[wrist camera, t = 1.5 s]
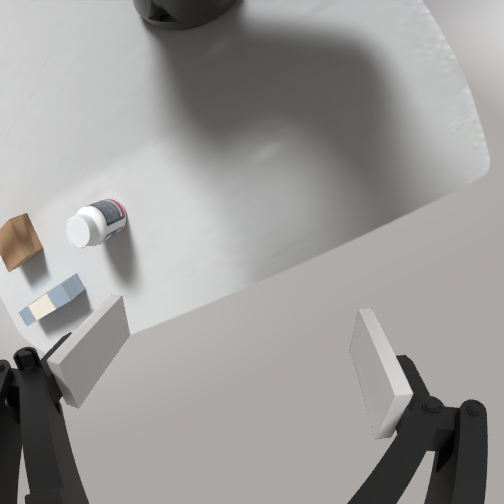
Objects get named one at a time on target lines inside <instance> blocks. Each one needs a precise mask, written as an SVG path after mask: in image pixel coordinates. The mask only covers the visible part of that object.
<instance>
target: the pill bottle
mask: <svg viewBox="0 0 504 504" xmlns="http://www.w3.org/2000/svg"><path fill="white" fill-rule="evenodd" d="M125 223H126V212H125V209H124V207H123V206H122V204H121V203H120V202H118V201H117V200H115V199H105V200H102V201H99V202H96V203H93V204H90V205H88V206H85V207H83V208H81V209H80V210H79V211H78V212H77V214H76V215H75V216H74V217H72V218H70V219H69V220H68V222H67V224H66V235H67V238H68V240H69V242H70V243H71V244H72V245H73V246H75V247H77V248H83V247H86V246H96V245H98V244H101V243H102V242H104V241H106V240H107V239H109V238H111V237H112V236H114V235H116V234H117V233H119V232H120V231H121V230H122V229H123V228H124V226H125Z"/></svg>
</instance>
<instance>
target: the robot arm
mask: <svg viewBox="0 0 504 504" xmlns="http://www.w3.org/2000/svg"><path fill="white" fill-rule="evenodd" d="M234 2H235V0H133V3H134V6H135V8H136V10H137V12H138V13H139V14H140V15H141V16H142V17H143V18H144V19H145V20H146V21H147V22H149V23H150V24H152V25H154V26H156V27H159V28H162V29H168V30H182V29H188V28H193V27H197V26H200V25H202V24H205V23H207V22H209V21H211V20H213V19H215V18H217V17H218V16H220V15H221V14H223V13H224V12H225V11H226V10H227V9H228V8H229V7H230V6H231V5H232V4H233V3H234ZM129 336H130V332H129V327H128V322H127V318H126V313H125V307H124V302H123V297H122V295H114V294H111V295H110V296H109V297H108V298H107V299H106V300H105V301H104V302H103V303H102V304H101V305H100V306H99V307H98V308H97V309H96V310H95V311H94V312H93V313H92V314H91V315H90V316H89V317H88V318H87V319H86V320H85V321H84V322H83V323H82V324H81V325H80V326H79V327H78V328H77V329H76V330H75V331H74V332H73V333H71V332H70V333H68V334H67V335H65V336H63V337H62V338H61V339H60V340H59V341H58V342H57V343H56V344H55V345H54V346H53V348H51V349H50V350H49V351H48V352H47V354H46V355H45V356H44V357H43V358H42V359H41V360H40V359H39V356H38V354H37V351H36V349H34V348H32V347H24V348H22V349H20V350H18V351H17V352H16V353H15V354H14V357H13V358H14V360H15V363H16V365H17V367H18V369H14V368H11V366H10V364H9V362H8V361H7V360H0V504H17V493H18V479H19V468H20V459H21V451H22V444H23V453H24V460H25V466H26V473H27V479H28V484H29V489H30V494H28V495H26V496H25V504H89V502H88V499H87V496H86V494H85V491H84V488H83V485H82V482H81V480H80V476H79V473H78V470H77V467H76V464H75V460H74V457H73V454H72V449H71V446H70V442H69V438H68V434H67V430H66V425H65V420H64V416H63V411H62V406H61V403H60V401H59V400H60V399H61V397H62V396H63V398H64V400H65V401H66V403H67V405H70V406H73V407H76V408H80V406H81V405H82V403H83V402H84V400H85V399H86V397H87V396H88V394H89V393H90V391H91V390H92V388H93V387H94V385H95V384H96V382H97V381H98V380H99V378H100V377H101V375H102V374H103V372H104V371H105V369H106V368H107V367H108V365H109V364H110V363H111V361H112V360H113V358H114V357H115V355H116V354H117V353H118V351H119V350H120V348H121V347H122V345H123V344H124V343H125V341H126V340H127V339H128V337H129ZM350 352H351V355H352V358H353V362H354V365H355V369H356V372H357V375H358V379H359V382H360V386H361V389H362V393H363V396H364V400H365V403H366V407H367V410H368V414H369V418H370V422H371V425H372V429H373V434H374V438H375V439H382V438H390V437H392V435H393V433H394V431H395V430H396V431H397V436H396V438H395V439H394V441H393V442H392V444H391V445H390V447H389V448H388V450H387V451H386V453H385V454H384V456H383V457H382V459H381V460H380V462H379V463H378V464H377V466H376V467H375V469H374V470H373V471H372V473H371V474H370V476H369V477H368V478H367V480H366V481H365V482H364V483H363V485H362V486H361V487H360V489H359V490H358V491H357V492H356V494H355V495H354V496H353V497H352V498H351V500H350V501H349V502H348V503H347V504H396V503H397V502H398V500H399V499H400V497H401V496H402V494H403V492H404V491H405V489H406V487H407V486H408V484H409V482H410V481H411V479H412V477H413V475H414V474H415V472H416V470H417V468H418V466H419V465H420V463H421V461H422V459H423V457H424V455H425V453H426V451H435V456H434V462H433V467H432V472H431V477H430V482H429V486H428V491H427V495H426V499H425V503H424V504H484V500H485V491H486V478H487V456H488V451H487V450H488V442H487V441H488V435H487V413H486V408H485V407H484V405H483V404H482V403H480V402H479V401H476V400H467V401H465V402H463V403H462V405H461V406H460V408H454V407H445V406H444V405H443V403H442V402H441V401H440V400H439V399H437V398H436V397H433V396H430V394H429V392H428V390H427V389H426V386H425V384H424V382H423V380H422V378H421V377H420V376H419V372H418V371H417V370H416V367H415V365H414V363H413V361H412V360H411V359H409V358H408V357H407V356H406V355H400V356H395V354H394V352H393V349H392V348H391V345H390V343H389V341H388V339H387V338H386V335H385V333H384V331H383V330H382V328H381V326H380V324H379V322H378V320H377V318H376V316H375V314H374V312H373V310H372V309H371V308H358V311H357V316H356V322H355V326H354V331H353V336H352V341H351V345H350ZM5 401H6V403H5Z"/></svg>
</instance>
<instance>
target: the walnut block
mask: <svg viewBox="0 0 504 504" xmlns="http://www.w3.org/2000/svg"><path fill="white" fill-rule="evenodd" d="M42 248H43V246H42V244H41V242H40V240H39V238H38V236H37V234H36V232H35V230H34V228H33V225H32V223H31V221H30V219H29V217H28V214H27V213H26V214H23V215H20V216H17V217H15V218H12V219H9V220H8V221H7V222H6V223H5V224H4V226H3V227H2V228H1V229H0V255H1V257H2V259H3V261H4V263H5V265H6V268H7V270H8V272H10V271H12V270H14V269H16V268H17V267H19V266H21V265H23V264H24V263H26V262H27V261H28V260H29V259H31V258H32V257H33V256H34V255H35V254H36V253H38V252H39V251H40V250H41V249H42Z"/></svg>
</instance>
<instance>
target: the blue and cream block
mask: <svg viewBox="0 0 504 504" xmlns="http://www.w3.org/2000/svg"><path fill="white" fill-rule="evenodd" d="M83 290H85V287H84V286H83V284H82V282H81V281H80V279H79V277H78V275H77V274H75V275H73V276H72V277H70V278H68V279H67V280H65V281H64V282H62V283H61V284H59V285H58V286H56V287H55V288H53V289H51V290H50V291H48V292H47V293H45V294H44V295H42V296H41V297H39V298H38V299H37V300H35V301H34V302H32V303H31V304H29V305H28V306H27V307H25V308H24V309H23V310H21V311H20V312H19V314H20V316H21V317H22V319H23V320H24V322H25V324H26V325H27V326H28V325H30V324H31V323H33V322H35V321H36V320H38V319H40V318H42V317H44V316H45V315H47V314H49V313H51V312H52V311H54V310H56V309H57V308H59V307H61V306H62V305H64V304H66V303H68V302H70V301H71V300H72V299H74V298H75V297H76V296H77V295H79V294H80V293H81V292H82V291H83Z"/></svg>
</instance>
